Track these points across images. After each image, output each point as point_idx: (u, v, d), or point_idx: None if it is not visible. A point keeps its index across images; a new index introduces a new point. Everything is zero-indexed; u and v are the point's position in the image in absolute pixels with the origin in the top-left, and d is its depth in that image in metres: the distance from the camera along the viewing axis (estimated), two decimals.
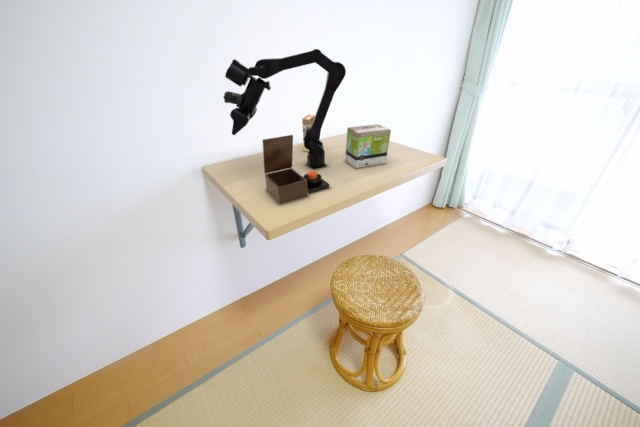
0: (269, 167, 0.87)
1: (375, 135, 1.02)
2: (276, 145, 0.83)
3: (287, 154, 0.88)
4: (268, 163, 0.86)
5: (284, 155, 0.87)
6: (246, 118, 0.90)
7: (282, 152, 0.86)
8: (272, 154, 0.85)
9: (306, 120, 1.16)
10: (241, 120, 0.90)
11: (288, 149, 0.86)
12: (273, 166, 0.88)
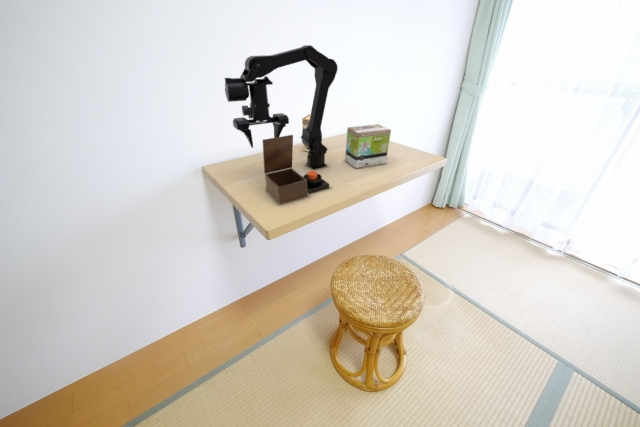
0: (269, 167, 0.87)
1: (375, 135, 1.02)
2: (276, 145, 0.83)
3: (287, 154, 0.88)
4: (268, 163, 0.86)
5: (284, 155, 0.87)
6: (237, 123, 0.85)
7: (282, 152, 0.86)
8: (272, 154, 0.85)
9: (306, 120, 1.16)
10: (236, 126, 0.86)
11: (288, 149, 0.86)
12: (273, 166, 0.88)
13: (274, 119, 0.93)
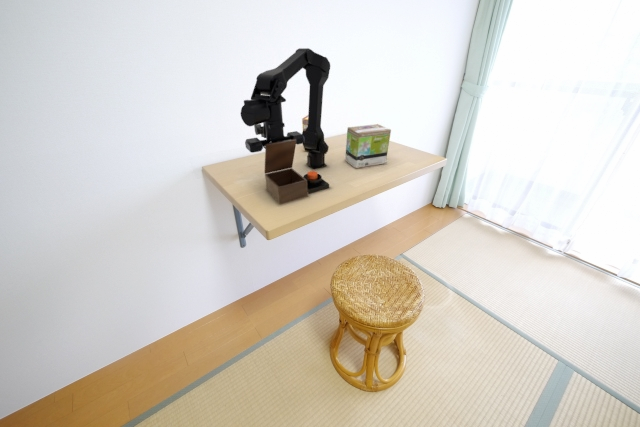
0: (270, 168, 0.87)
1: (375, 135, 1.02)
2: (279, 149, 0.82)
3: (288, 156, 0.87)
4: (269, 165, 0.86)
5: (285, 157, 0.87)
6: (250, 145, 0.79)
7: (284, 155, 0.85)
8: (274, 157, 0.84)
9: (306, 120, 1.16)
10: (248, 148, 0.80)
11: (290, 152, 0.86)
12: (274, 167, 0.88)
13: (289, 139, 0.86)
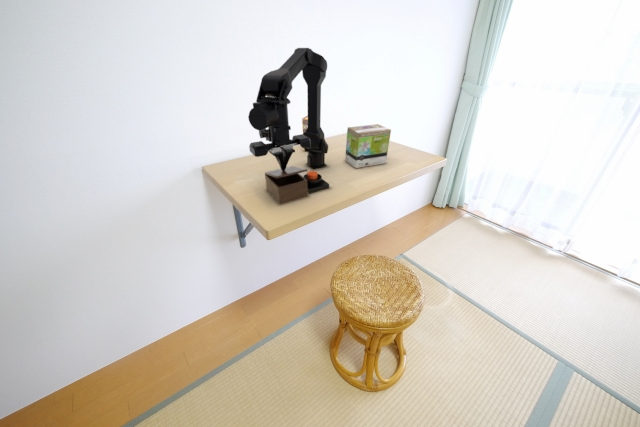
0: None
1: (375, 135, 1.02)
2: None
3: None
4: None
5: None
6: (254, 149, 0.76)
7: None
8: None
9: (306, 120, 1.16)
10: (253, 152, 0.77)
11: (296, 170, 0.86)
12: (275, 172, 0.88)
13: (294, 142, 0.83)
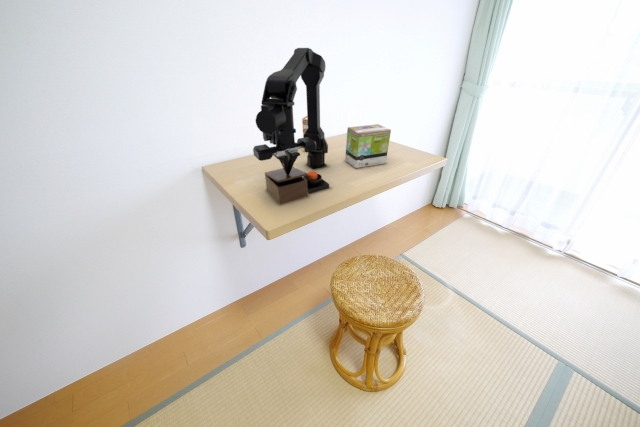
0: None
1: (375, 135, 1.02)
2: None
3: None
4: None
5: None
6: (259, 152, 0.73)
7: None
8: None
9: (306, 120, 1.16)
10: (257, 156, 0.74)
11: None
12: None
13: (299, 145, 0.80)
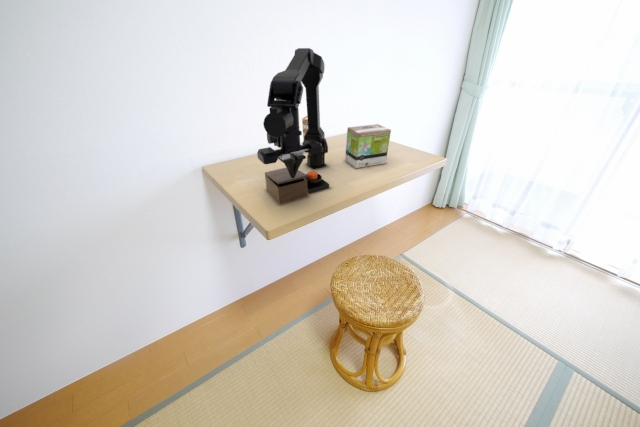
0: None
1: (375, 135, 1.02)
2: None
3: None
4: None
5: None
6: (263, 156, 0.70)
7: None
8: None
9: (306, 120, 1.16)
10: (262, 160, 0.72)
11: None
12: None
13: (305, 148, 0.78)
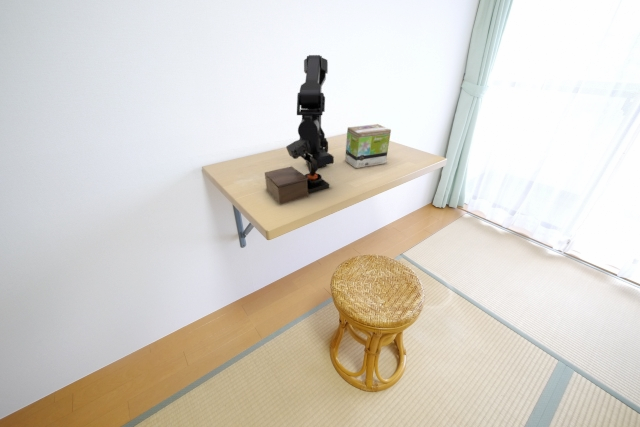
0: None
1: (375, 135, 1.02)
2: None
3: None
4: None
5: None
6: (332, 156, 0.81)
7: None
8: None
9: None
10: (329, 162, 0.82)
11: None
12: None
13: None
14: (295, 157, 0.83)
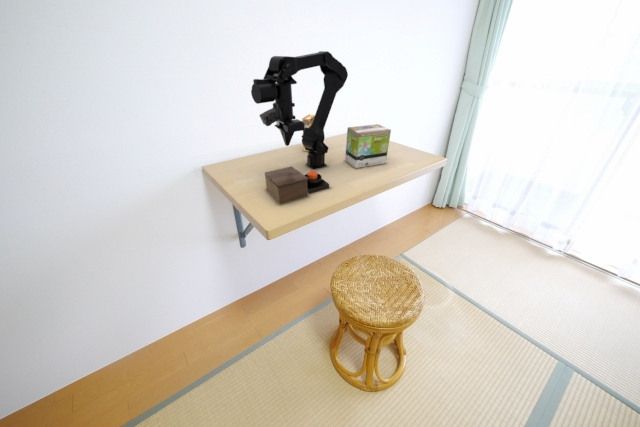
0: None
1: (375, 135, 1.02)
2: None
3: None
4: None
5: None
6: (302, 123, 0.85)
7: None
8: None
9: (306, 120, 1.16)
10: (300, 128, 0.85)
11: None
12: None
13: None
14: (268, 124, 0.86)
